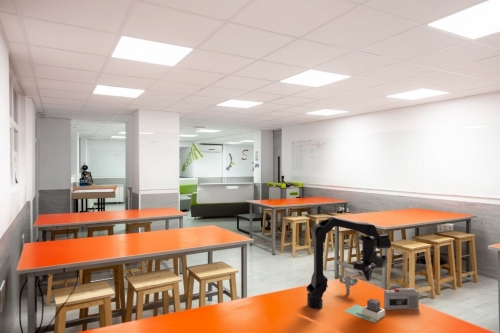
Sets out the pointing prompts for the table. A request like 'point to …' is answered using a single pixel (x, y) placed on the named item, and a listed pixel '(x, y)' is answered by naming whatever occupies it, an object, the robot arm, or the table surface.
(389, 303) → the cassette player
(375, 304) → the plug
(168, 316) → the table surface
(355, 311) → the board
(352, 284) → the mechanical component
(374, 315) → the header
